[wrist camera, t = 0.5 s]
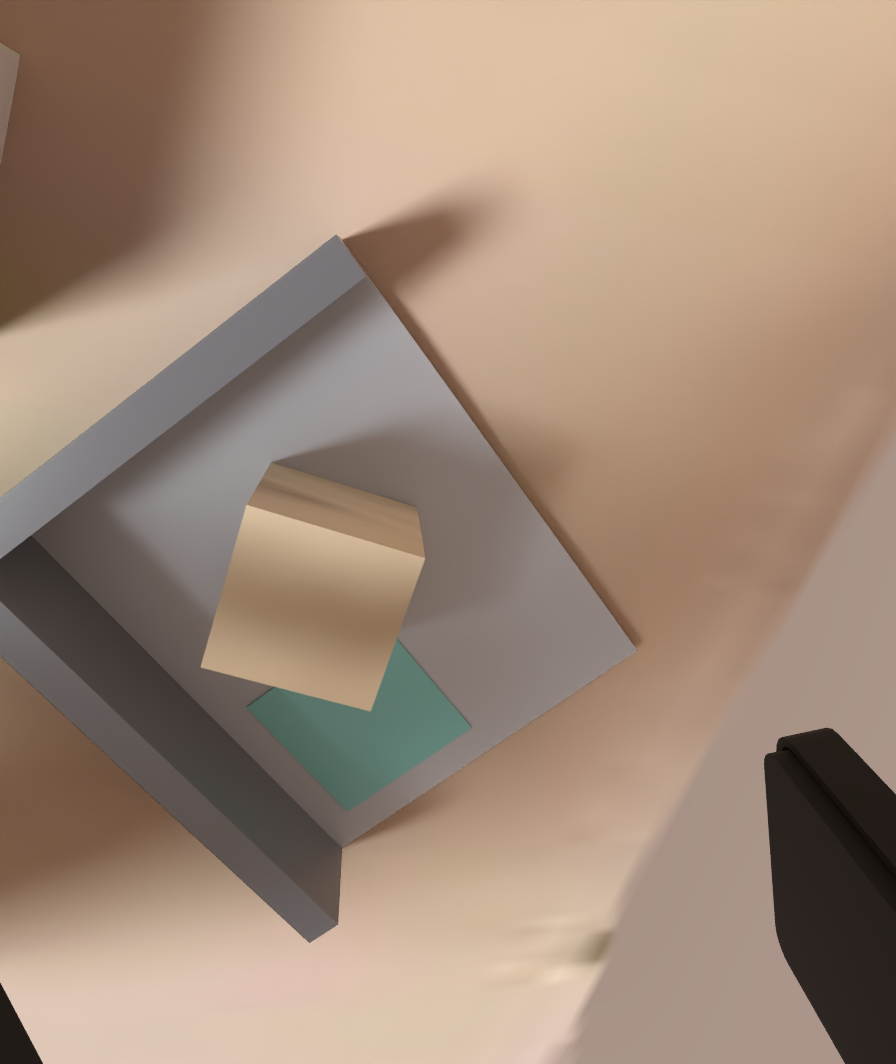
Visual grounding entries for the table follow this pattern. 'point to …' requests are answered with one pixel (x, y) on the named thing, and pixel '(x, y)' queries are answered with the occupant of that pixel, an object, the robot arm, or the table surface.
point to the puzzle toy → (6, 88)
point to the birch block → (316, 588)
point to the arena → (202, 564)
